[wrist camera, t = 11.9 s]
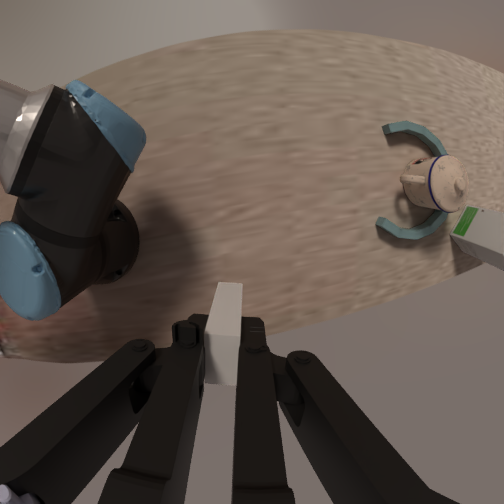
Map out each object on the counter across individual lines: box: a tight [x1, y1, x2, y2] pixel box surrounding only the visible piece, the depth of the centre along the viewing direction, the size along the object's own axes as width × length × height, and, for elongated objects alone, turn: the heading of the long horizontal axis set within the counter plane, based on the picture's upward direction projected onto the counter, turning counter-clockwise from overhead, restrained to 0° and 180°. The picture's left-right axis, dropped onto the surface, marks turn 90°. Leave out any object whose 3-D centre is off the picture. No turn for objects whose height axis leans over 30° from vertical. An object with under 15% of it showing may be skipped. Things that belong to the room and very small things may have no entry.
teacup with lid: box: [400, 155, 469, 213], centre depth 36 cm, size 12×9×12 cm
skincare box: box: [450, 204, 504, 271], centre depth 36 cm, size 8×7×16 cm
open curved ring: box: [376, 121, 448, 240], centre depth 40 cm, size 16×20×2 cm
